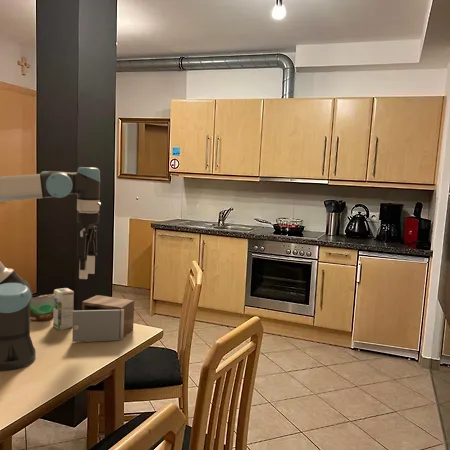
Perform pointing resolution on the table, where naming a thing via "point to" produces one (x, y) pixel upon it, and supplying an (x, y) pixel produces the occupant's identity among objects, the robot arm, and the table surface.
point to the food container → (42, 308)
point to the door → (97, 325)
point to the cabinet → (113, 304)
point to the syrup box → (63, 308)
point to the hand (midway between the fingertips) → (87, 275)
